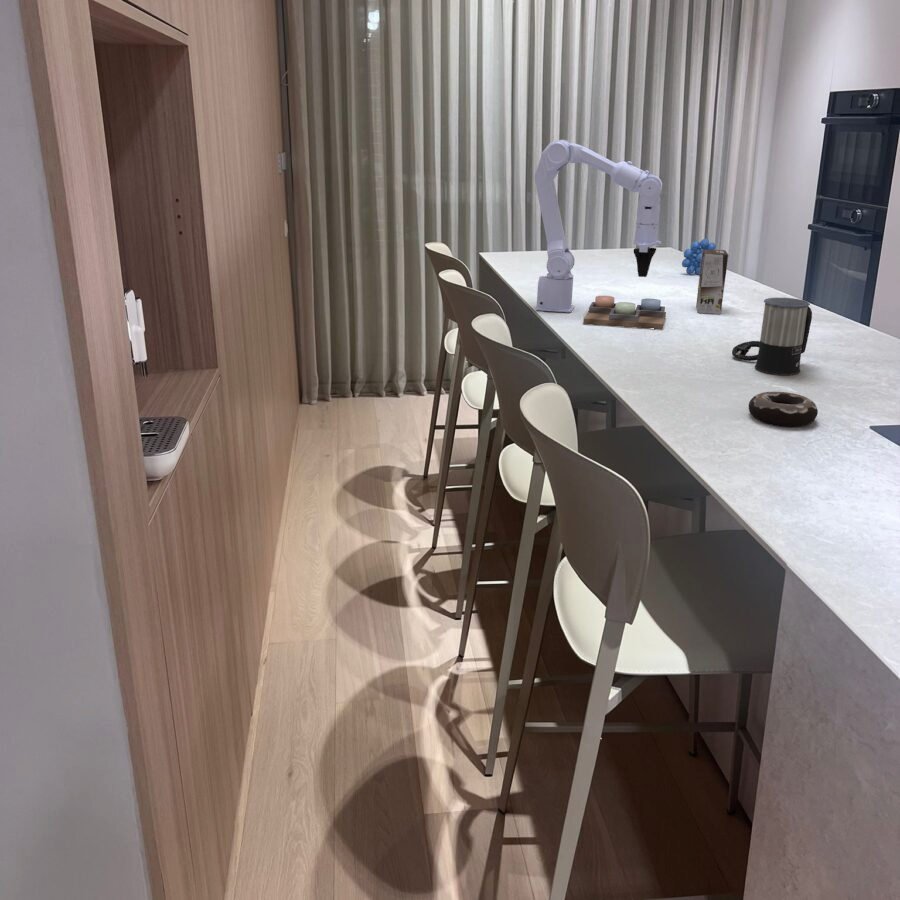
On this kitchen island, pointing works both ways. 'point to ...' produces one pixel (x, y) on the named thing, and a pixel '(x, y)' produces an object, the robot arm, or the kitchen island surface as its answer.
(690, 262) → the grapes
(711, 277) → the coffee box
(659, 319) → the panel
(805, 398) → the donut
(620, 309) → the button sage
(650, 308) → the button slate
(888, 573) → the kitchen island surface
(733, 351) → the milk frother
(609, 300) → the button terracotta
